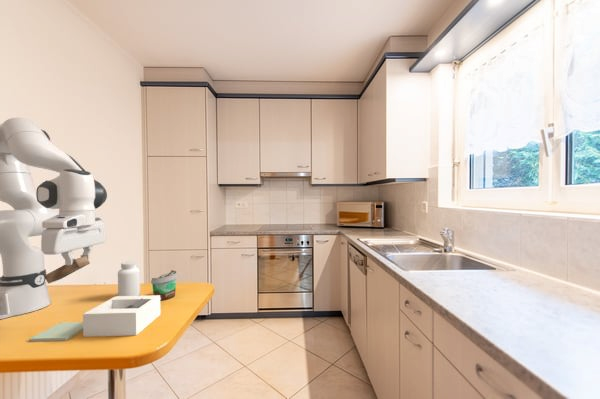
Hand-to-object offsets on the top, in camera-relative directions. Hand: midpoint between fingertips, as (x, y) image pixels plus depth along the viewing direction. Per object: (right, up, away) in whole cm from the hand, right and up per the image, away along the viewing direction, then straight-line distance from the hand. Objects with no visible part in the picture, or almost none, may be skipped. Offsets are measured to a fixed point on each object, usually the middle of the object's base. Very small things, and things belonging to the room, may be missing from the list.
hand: (77, 262), depth 82 cm
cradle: (+13, -18, +3) cm, 23 cm away
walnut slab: (-3, -4, 0) cm, 4 cm away
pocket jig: (+13, -22, +3) cm, 26 cm away
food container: (+16, -22, +27) cm, 38 cm away
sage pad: (-4, -22, -1) cm, 23 cm away
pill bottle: (-2, -22, +28) cm, 36 cm away
